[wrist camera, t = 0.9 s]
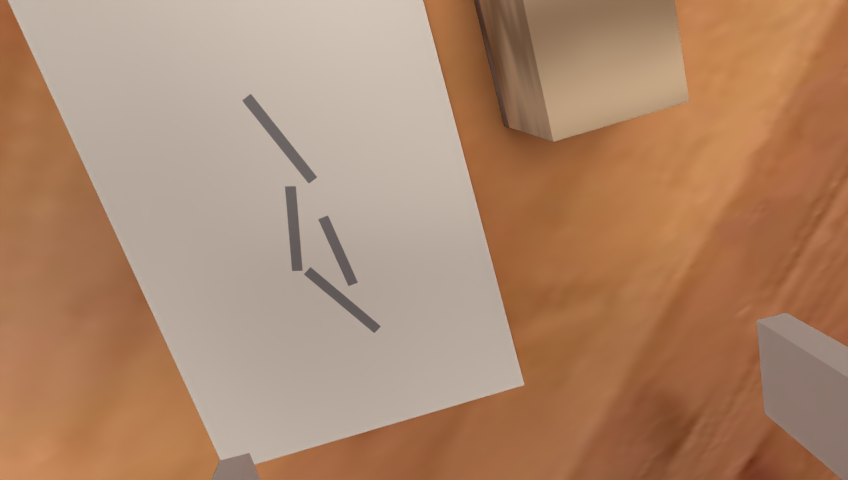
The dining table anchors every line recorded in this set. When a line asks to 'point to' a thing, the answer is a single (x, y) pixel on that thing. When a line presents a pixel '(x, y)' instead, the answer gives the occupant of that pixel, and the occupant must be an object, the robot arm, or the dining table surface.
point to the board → (285, 206)
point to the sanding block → (581, 62)
